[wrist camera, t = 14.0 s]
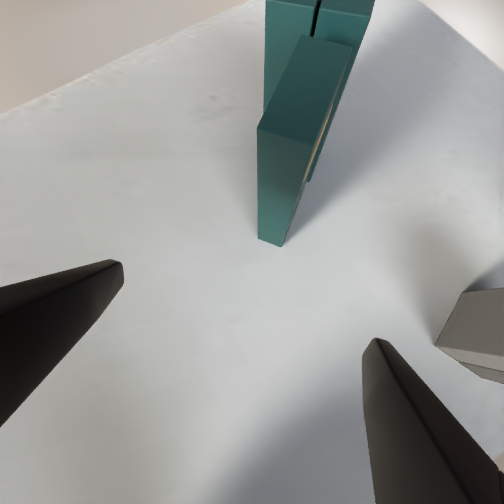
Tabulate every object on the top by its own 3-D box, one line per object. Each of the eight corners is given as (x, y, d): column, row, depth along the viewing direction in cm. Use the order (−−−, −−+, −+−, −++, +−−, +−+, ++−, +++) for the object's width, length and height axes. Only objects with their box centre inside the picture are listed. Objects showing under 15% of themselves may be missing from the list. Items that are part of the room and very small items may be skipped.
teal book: (281, 247, 23) (314, 146, 9) (257, 238, 23) (255, 127, 10) (300, 198, 24) (353, 46, 11) (277, 190, 24) (300, 32, 11)
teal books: (309, 182, 24) (371, 17, 11) (261, 170, 25) (265, -2, 11) (321, 138, 26) (389, -58, 12) (275, 128, 26) (293, -71, 13)
